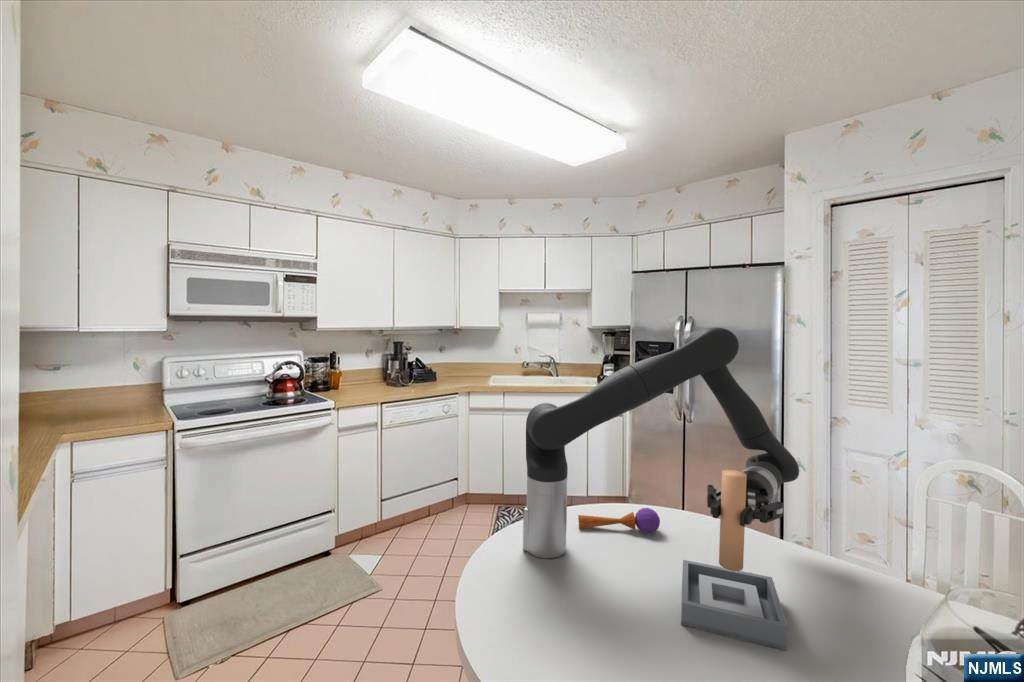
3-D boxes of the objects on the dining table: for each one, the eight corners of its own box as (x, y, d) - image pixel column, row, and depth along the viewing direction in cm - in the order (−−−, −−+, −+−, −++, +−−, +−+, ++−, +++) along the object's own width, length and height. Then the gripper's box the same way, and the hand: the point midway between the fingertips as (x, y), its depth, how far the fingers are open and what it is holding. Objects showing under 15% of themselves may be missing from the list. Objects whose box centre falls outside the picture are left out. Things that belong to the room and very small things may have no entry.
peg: (719, 568, 81) (722, 475, 80) (718, 557, 85) (721, 468, 84) (744, 572, 80) (747, 479, 79) (741, 561, 83) (745, 471, 82)
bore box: (681, 624, 79) (681, 602, 78) (682, 578, 93) (682, 559, 92) (786, 650, 73) (787, 627, 73) (770, 597, 87) (771, 577, 86)
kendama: (577, 506, 118) (655, 505, 116) (579, 530, 117) (658, 529, 115) (578, 512, 112) (660, 510, 110) (580, 537, 111) (663, 536, 109)
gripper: (717, 462, 97) (688, 485, 84) (794, 479, 87) (774, 507, 75) (716, 497, 97) (687, 524, 84) (792, 516, 88) (772, 551, 75)
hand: (728, 516), depth 80 cm, fingers closed on peg, 4 cm apart
